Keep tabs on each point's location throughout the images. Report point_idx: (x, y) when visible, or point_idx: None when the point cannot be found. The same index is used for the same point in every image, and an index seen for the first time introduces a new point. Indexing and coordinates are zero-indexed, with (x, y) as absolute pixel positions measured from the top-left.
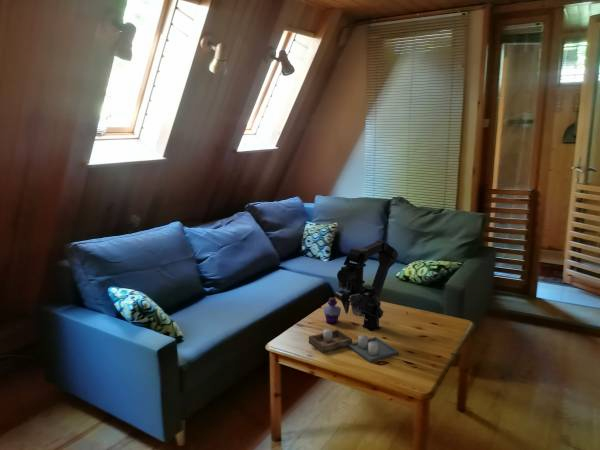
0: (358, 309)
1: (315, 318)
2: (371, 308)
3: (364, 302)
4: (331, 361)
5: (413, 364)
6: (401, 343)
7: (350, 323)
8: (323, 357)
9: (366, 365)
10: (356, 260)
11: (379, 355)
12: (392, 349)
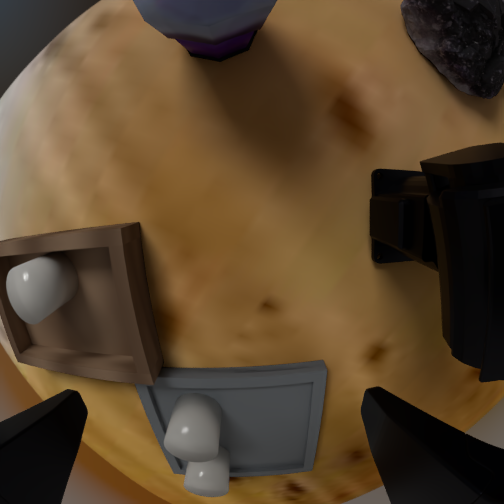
0: (436, 32)
1: None
2: (469, 353)
3: (408, 491)
4: None
5: (299, 493)
6: None
7: (325, 96)
8: (35, 369)
9: (158, 465)
10: None
11: None
12: (304, 457)
